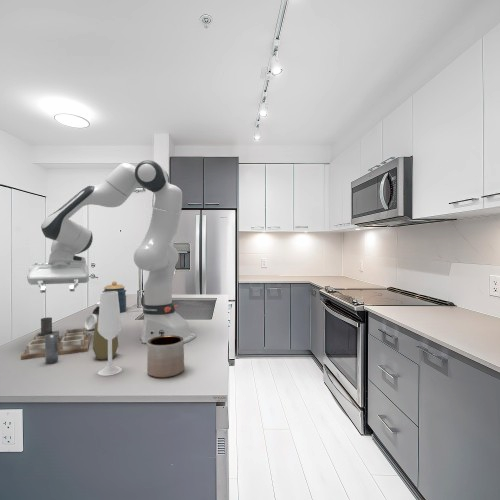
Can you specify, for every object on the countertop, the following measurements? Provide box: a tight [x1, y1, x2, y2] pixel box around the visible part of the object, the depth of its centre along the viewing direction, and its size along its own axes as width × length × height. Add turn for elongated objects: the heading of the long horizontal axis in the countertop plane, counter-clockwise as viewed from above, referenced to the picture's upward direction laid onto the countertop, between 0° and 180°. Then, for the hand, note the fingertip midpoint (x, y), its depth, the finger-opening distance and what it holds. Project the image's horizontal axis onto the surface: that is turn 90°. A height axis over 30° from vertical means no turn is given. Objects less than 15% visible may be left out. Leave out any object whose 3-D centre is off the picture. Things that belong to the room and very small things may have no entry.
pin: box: [44, 333, 59, 365], centre depth 104 cm, size 4×4×9 cm
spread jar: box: [84, 301, 100, 331], centre depth 148 cm, size 12×11×12 cm
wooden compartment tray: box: [20, 316, 92, 360], centre depth 120 cm, size 20×20×10 cm
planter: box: [146, 335, 185, 379], centre depth 96 cm, size 11×11×10 cm
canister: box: [102, 281, 128, 314], centre depth 185 cm, size 13×13×18 cm
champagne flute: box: [97, 291, 123, 377], centre depth 97 cm, size 7×7×24 cm
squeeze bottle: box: [92, 316, 119, 360], centre depth 109 cm, size 8×8×18 cm
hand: (57, 291), depth 118 cm, fingers open, 8 cm apart
